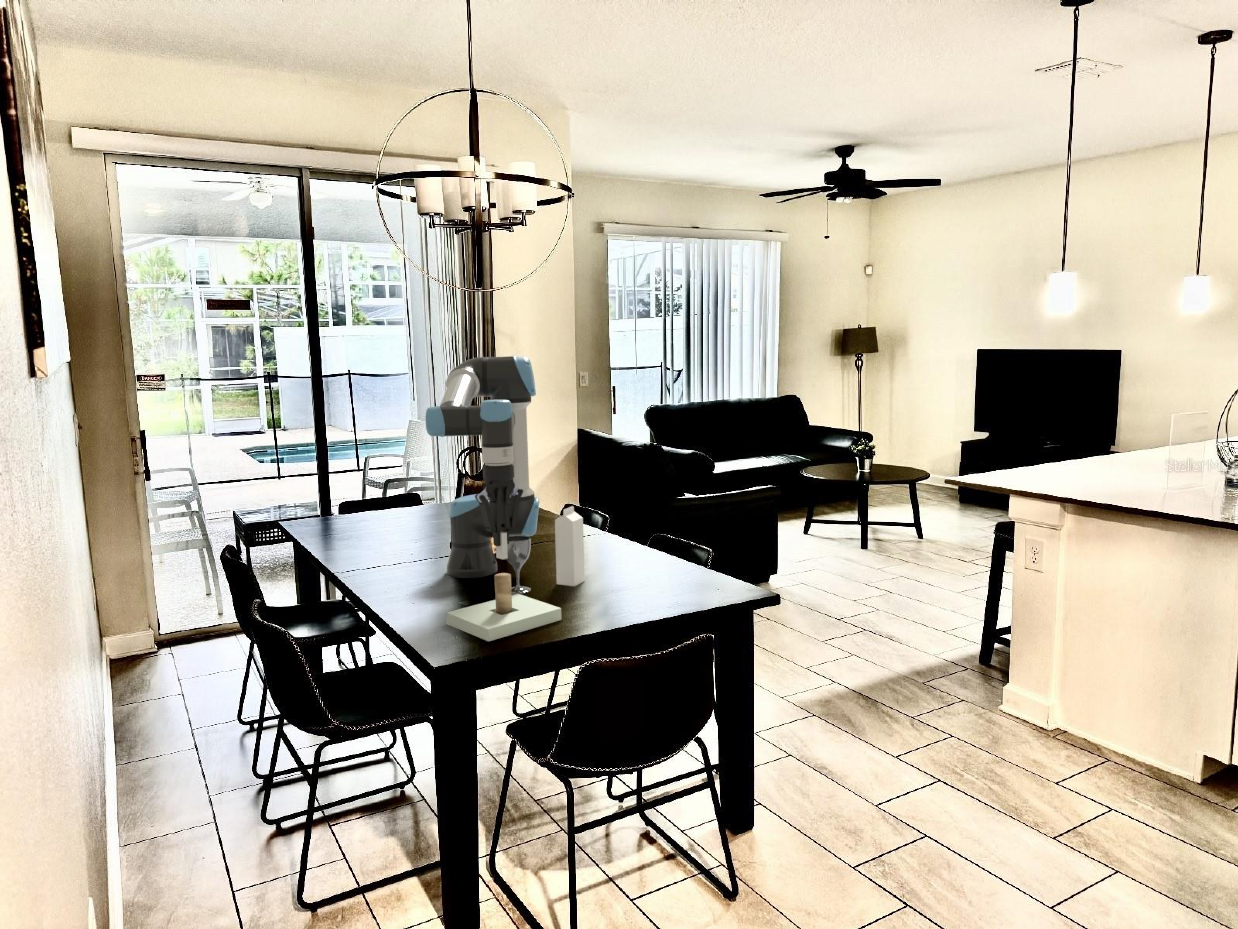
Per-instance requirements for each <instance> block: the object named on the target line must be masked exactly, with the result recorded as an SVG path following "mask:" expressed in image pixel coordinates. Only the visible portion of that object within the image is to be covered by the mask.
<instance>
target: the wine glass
mask: <svg viewBox="0 0 1238 929" xmlns="http://www.w3.org/2000/svg"><path fill="white" fill-rule="evenodd" d="M531 537H532V536H527V535H510V536H509V544H507V554H508V558H507V559H505V560H506V561H507V562H508V563H509V564H510V565H511V566H512V568H513V570H514V571H515V572H514V573H515V579H516V585H515V586H511V594H512V595H515V594H520V595H523V594H527V593H529V592H531V589H532V588H531V587H528V586H524V585H523V586H522V585H521V584H520V574H521V573H520V572H521V569H522V567H523V565H524V564H525V563H526V562H527V560H528V559H529V557H530V554H531V546H532V545H531V544H532V538H531ZM526 592H527V593H526Z"/></svg>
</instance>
